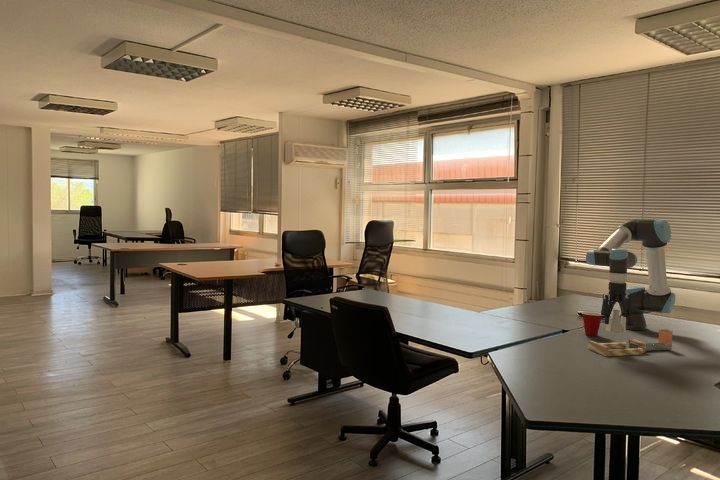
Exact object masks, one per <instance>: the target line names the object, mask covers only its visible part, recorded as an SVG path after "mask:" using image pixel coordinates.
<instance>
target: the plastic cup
mask: <svg viewBox="0 0 720 480" xmlns="http://www.w3.org/2000/svg"><path fill="white" fill-rule="evenodd" d="M581 315H582V319H583V320H582V321H583V326H584V334H585V336H587V337H588V336H589V337H598V333H599V329H600V325H601V322H602V318H603V316H602V315H601V312H600V313H599V312H591V311H590V312H588V311H581Z"/></svg>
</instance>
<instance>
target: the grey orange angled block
mask: <svg viewBox="0 0 720 480" xmlns="http://www.w3.org/2000/svg"><path fill="white" fill-rule="evenodd" d="M645 343H646V352H647V351H648V352H649V351H669V350H672V348H673V331H672V330H670V329H658V341H657V342H645ZM628 344H629V343H628ZM633 348H638V345H635V344H629V349H633Z"/></svg>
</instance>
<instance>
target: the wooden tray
mask: <svg viewBox="0 0 720 480" xmlns="http://www.w3.org/2000/svg"><path fill="white" fill-rule="evenodd" d="M646 343H647V342H643V341H640V340H638V339H635V338H630V339H628V343H627V342H625V341H624V342H604V343H603V342H601V343H598V342H596V341H593V340H588V344H587V345H588V346H587V348H588V350H589V351H592V352H595V353H597V354H599V355H601V356H605V357H613V356H615V357H616V356H635V355H643V354H644V353H646V352H647V351H646ZM627 344H628V346H627ZM629 344H635V345H638V348H633V349H629Z"/></svg>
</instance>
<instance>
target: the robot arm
mask: <svg viewBox="0 0 720 480" xmlns="http://www.w3.org/2000/svg"><path fill="white" fill-rule="evenodd" d="M671 229H672V228H671V226H670V224H669V222H668V221H667V220H664V219H657V218H655V219H652V218H650V219H647V218H646V219H645V218H641V219H640V218H632V219H629V220H627V221H624V222H622V223H621V224H619V225H617V226H616V227H615V228H614V229H613V230H612V234H610V236H609V237H608V238H607V239H606V240H604V241H603V242H602V244H600V245H599V247H598V248H597V249H589V250H587V251H586V255H585V261H586V263H587V264H588V265H591V266H597V267H599V266H600V267H609V269H608V271H609V272H608V273H609V274H608V281H609V282H608V293H606V294H605V293H604V294H602V304H601V310H600V314H601V315H602V317H604V324H605V329H604V330H605V332H609V333H612V332H611V320H612V317H611V315H612V313H613V310H614V307H615V305H616V304H617V303H618V305H619V308H620V309H619V310H620V313H619V317H620V321H621V324H622V327H623V331H624V332H626V330H630V331H645V330H647V327H648V326H647V322H646V319H645V316H644V315H645V312H650V313H656V314H665V315H666V314H667V315H668V314H671V313H672V312H673V310H674V307H675V304H676V293H674V292H672V290H671V289H672V288H671V287H669V286H668V281H667V280H668V278H667V265H666V263H667V262H666V251H665V247H666V246H667V245H668V243H669V242H670V241H671V239H672V236H671V235H672V230H671ZM631 241H633V242H634V241H635V242H636V241H637V242H641V244H642V246H643V248H645V250H646V251H645V252H646V263H647V264H646V265H647V275H648V287H647V288H646V287H645V286H628V285H627V283H626V282H627V281H628V269H631V268H633V267H634V266H636V265H637V263H638V256H637V255H636V254H635V253H634V252H632V251H628V249H626V248H621V247H623V246H624V244H627V243H629V242H631Z"/></svg>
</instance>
